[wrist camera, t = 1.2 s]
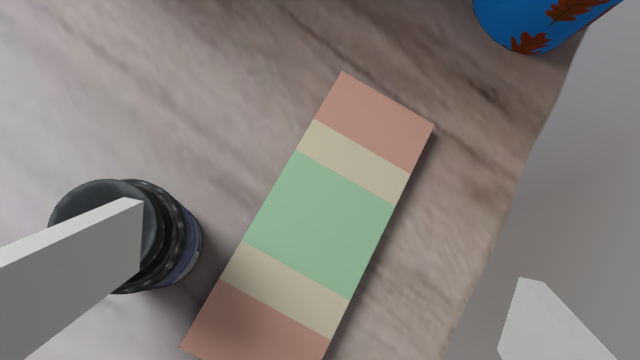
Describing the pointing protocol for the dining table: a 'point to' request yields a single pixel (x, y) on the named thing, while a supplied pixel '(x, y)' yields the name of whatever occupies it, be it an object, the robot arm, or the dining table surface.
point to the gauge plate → (313, 232)
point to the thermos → (537, 21)
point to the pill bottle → (143, 229)
